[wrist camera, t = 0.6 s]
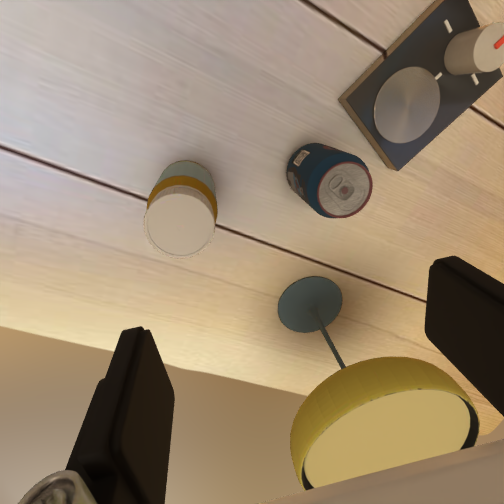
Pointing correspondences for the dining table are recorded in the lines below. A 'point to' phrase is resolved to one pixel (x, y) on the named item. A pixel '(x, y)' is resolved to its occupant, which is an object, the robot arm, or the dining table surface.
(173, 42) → the dining table surface
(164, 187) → the bottle
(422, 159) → the dining table surface
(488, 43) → the hob knob
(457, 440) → the cocktail glass
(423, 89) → the burner ring
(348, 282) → the dining table surface
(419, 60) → the hob
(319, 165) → the soda can
